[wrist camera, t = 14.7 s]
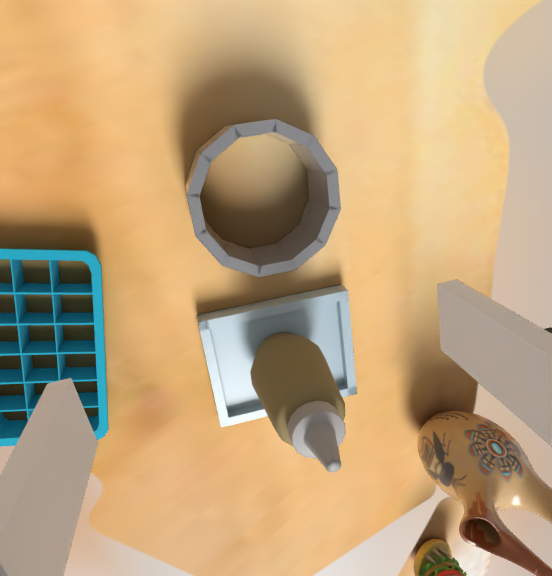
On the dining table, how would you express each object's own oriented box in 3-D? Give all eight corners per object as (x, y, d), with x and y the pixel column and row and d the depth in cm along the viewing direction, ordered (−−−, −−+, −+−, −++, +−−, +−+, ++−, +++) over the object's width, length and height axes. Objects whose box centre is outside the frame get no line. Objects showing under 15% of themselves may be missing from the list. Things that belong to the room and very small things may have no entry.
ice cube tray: (-6, 428, 47) (-17, 447, 45) (-32, 240, 41) (-46, 248, 38) (112, 422, 50) (108, 439, 47) (104, 243, 44) (100, 251, 41)
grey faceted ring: (310, 113, 43) (332, 110, 37) (323, 243, 48) (345, 259, 42) (174, 133, 41) (173, 134, 35) (201, 267, 46) (206, 287, 40)
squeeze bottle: (235, 336, 48) (267, 444, 32) (305, 310, 49) (372, 403, 33) (257, 397, 51) (297, 524, 35) (323, 371, 52) (393, 484, 36)
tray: (341, 284, 50) (347, 290, 48) (350, 384, 55) (356, 393, 53) (197, 314, 48) (198, 322, 46) (219, 416, 52) (221, 427, 50)
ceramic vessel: (505, 397, 60) (710, 563, 37) (484, 454, 63) (664, 641, 40) (395, 392, 56) (548, 574, 33) (377, 452, 59) (509, 661, 36)
